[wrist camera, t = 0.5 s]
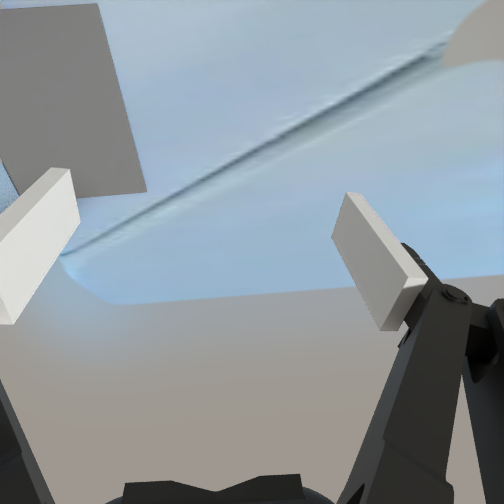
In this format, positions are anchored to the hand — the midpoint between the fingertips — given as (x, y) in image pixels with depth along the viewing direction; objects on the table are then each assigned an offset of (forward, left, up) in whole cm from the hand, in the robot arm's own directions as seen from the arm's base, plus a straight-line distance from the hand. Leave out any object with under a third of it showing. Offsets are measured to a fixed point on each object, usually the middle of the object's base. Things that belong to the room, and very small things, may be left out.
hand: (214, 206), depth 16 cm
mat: (+1, -19, -27) cm, 33 cm away
